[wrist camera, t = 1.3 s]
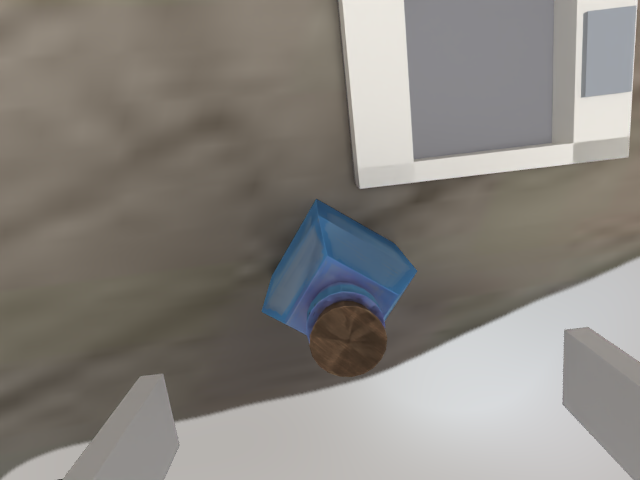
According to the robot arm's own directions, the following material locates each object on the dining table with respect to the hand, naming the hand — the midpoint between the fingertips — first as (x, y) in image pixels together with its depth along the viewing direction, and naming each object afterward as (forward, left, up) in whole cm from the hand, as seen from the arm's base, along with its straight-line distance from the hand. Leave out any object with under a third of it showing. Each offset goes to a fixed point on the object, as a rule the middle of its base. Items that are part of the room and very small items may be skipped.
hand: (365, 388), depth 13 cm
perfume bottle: (0, 0, -16) cm, 16 cm away
